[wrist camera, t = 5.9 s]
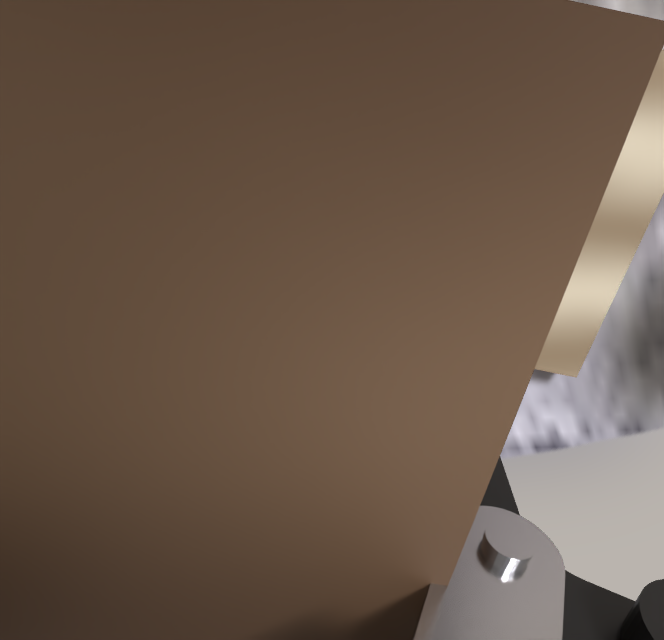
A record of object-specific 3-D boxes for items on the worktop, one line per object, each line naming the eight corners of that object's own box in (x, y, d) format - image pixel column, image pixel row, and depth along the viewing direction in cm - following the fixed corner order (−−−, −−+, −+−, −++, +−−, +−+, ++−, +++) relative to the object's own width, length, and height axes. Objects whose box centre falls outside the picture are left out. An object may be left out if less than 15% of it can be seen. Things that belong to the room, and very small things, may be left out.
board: (27, -104, 22) (6, -111, 21) (703, 61, 24) (724, 64, 23) (32, 253, 28) (17, 266, 27) (566, 360, 30) (576, 377, 29)
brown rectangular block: (101, -72, 8) (-245, -176, 3) (490, 12, 8) (673, 22, 3) (94, 583, 13) (-37, 882, 9) (325, 616, 13) (314, 921, 9)
